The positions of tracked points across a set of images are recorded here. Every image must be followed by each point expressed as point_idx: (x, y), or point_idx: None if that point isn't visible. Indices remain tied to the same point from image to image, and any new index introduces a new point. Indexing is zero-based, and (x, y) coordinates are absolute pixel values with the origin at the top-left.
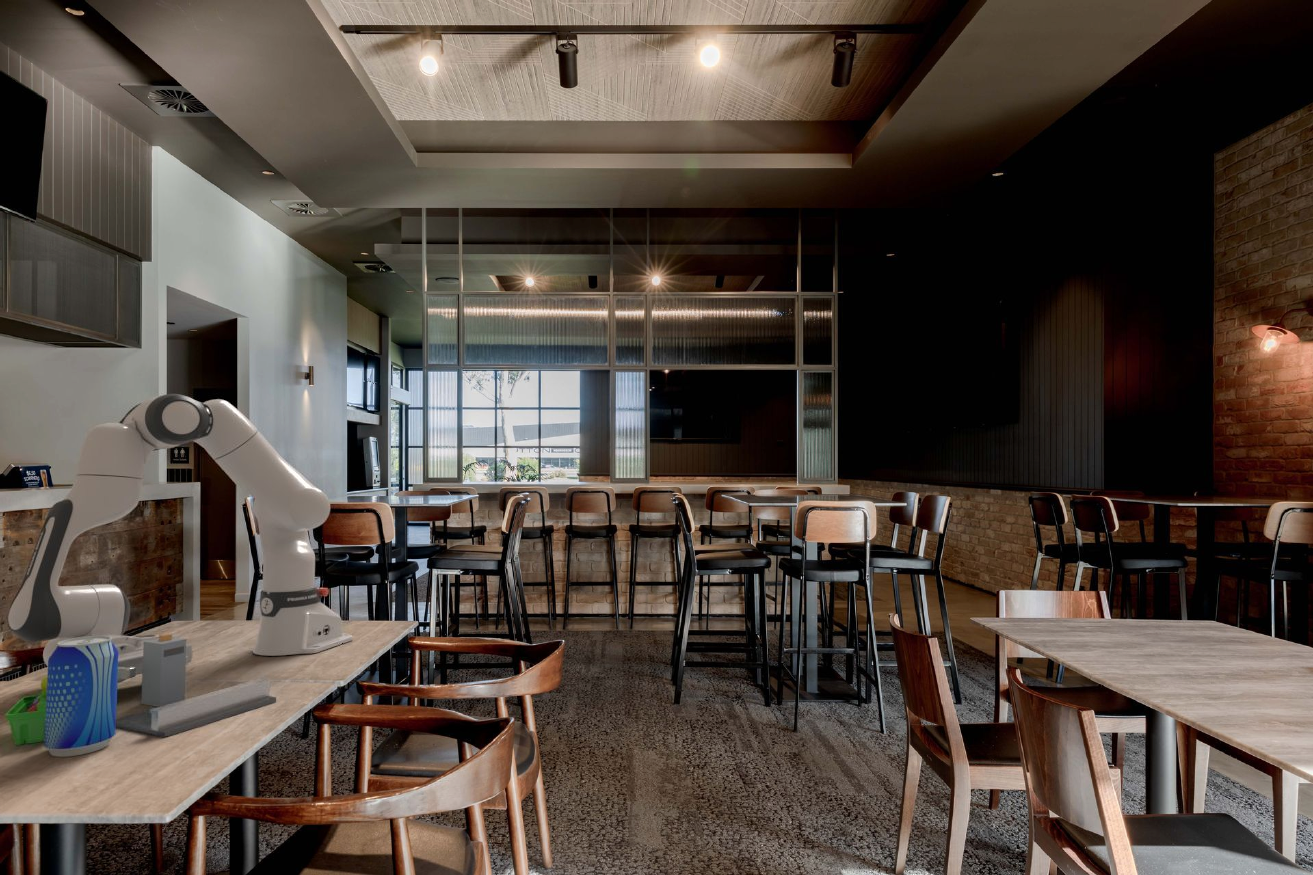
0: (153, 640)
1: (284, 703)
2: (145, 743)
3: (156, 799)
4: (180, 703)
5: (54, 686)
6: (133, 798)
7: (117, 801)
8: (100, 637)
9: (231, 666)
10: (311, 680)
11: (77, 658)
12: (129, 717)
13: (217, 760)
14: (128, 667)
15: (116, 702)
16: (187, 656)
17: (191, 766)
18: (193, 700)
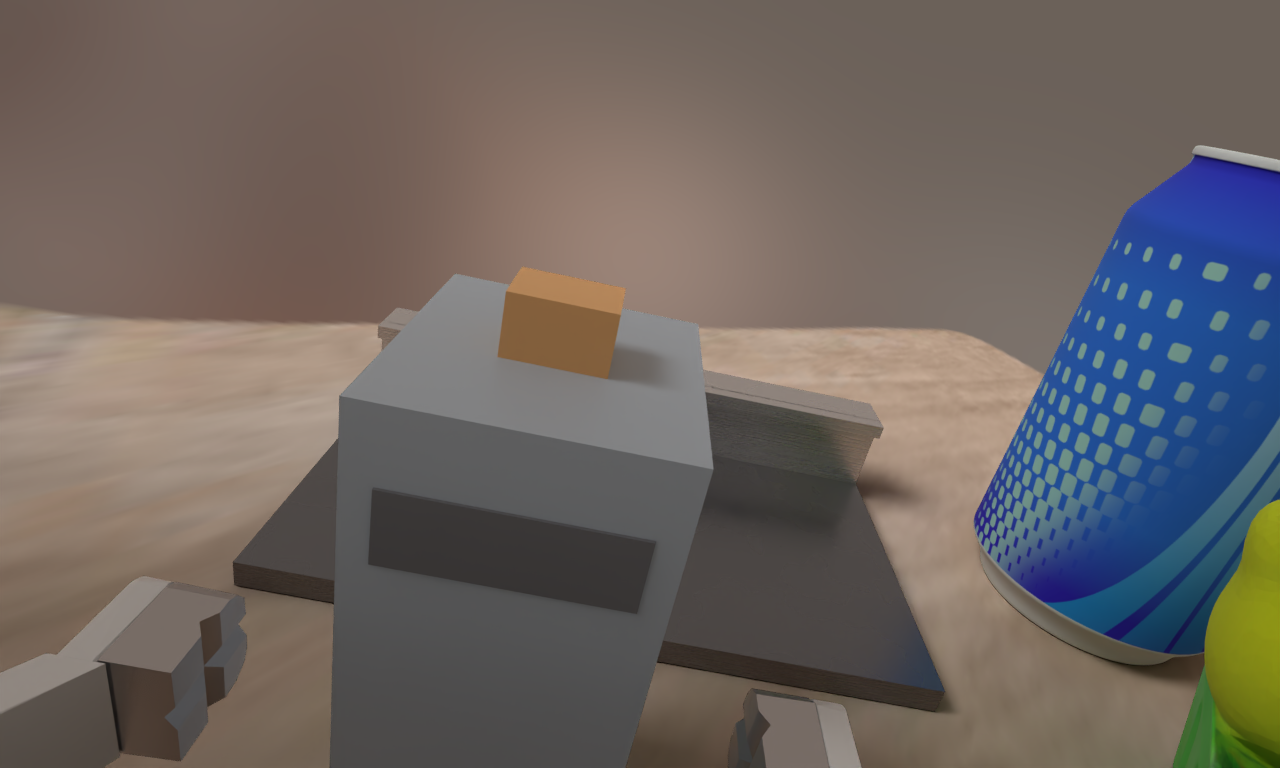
0: (614, 421)
1: None
2: (891, 472)
3: (964, 347)
4: (779, 394)
5: None
6: (992, 366)
7: (1016, 375)
8: (1260, 166)
9: None
10: (3, 370)
11: None
12: (854, 639)
13: (826, 341)
14: (799, 748)
15: (1027, 409)
16: (145, 579)
17: (872, 357)
18: (733, 380)
